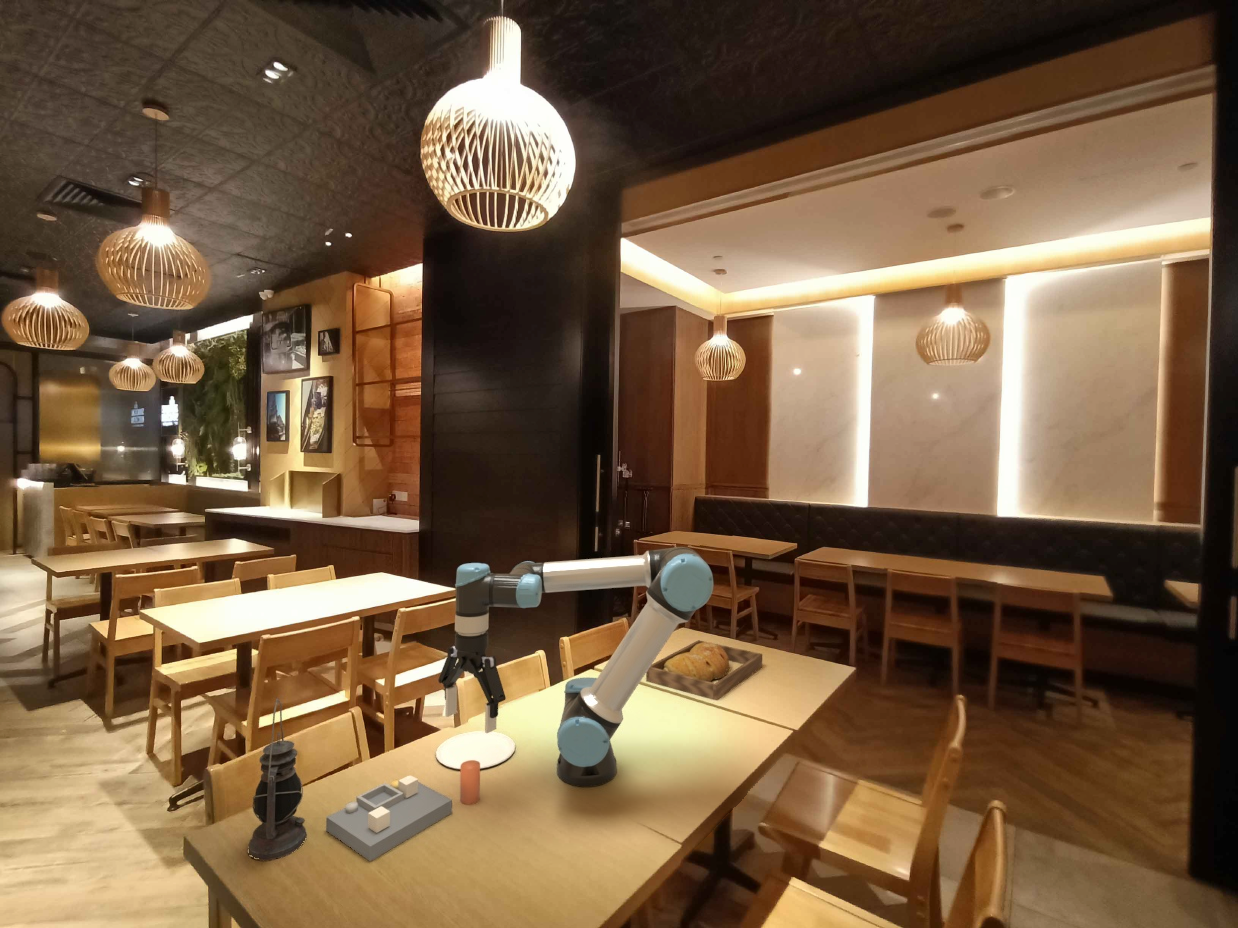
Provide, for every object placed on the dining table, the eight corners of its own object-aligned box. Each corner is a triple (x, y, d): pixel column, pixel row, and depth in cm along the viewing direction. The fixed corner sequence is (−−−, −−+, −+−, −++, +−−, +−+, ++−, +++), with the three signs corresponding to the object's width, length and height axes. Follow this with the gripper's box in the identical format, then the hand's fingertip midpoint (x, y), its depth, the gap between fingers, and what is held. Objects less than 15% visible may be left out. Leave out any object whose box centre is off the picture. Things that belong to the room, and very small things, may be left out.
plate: (445, 780, 148) (445, 775, 148) (428, 743, 167) (428, 739, 167) (526, 761, 158) (526, 756, 158) (502, 728, 177) (502, 724, 176)
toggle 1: (389, 825, 125) (389, 811, 125) (376, 832, 122) (376, 818, 122) (381, 820, 126) (381, 805, 126) (368, 827, 124) (368, 812, 124)
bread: (703, 692, 206) (704, 663, 206) (655, 678, 218) (655, 651, 217) (744, 666, 232) (744, 640, 231) (698, 655, 243) (699, 630, 243)
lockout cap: (483, 797, 141) (484, 763, 140) (468, 806, 137) (469, 771, 137) (470, 791, 143) (471, 758, 143) (456, 800, 140) (456, 765, 139)
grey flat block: (452, 812, 135) (452, 792, 135) (370, 861, 118) (370, 838, 118) (407, 788, 144) (408, 770, 144) (326, 830, 127) (326, 809, 127)
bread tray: (762, 666, 231) (762, 653, 231) (716, 700, 199) (716, 685, 199) (698, 652, 247) (698, 640, 247) (646, 681, 214) (646, 667, 214)
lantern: (299, 858, 119) (300, 707, 118) (238, 868, 116) (239, 713, 115) (312, 821, 131) (313, 683, 130) (257, 829, 128) (258, 688, 127)
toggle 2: (417, 792, 137) (417, 779, 137) (406, 798, 134) (406, 784, 134) (409, 787, 139) (409, 774, 139) (398, 793, 136) (398, 780, 136)
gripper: (522, 637, 135) (520, 731, 136) (449, 618, 150) (448, 703, 150) (497, 646, 129) (495, 744, 130) (424, 625, 144) (422, 713, 144)
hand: (470, 722), depth 140 cm, fingers open, 13 cm apart
